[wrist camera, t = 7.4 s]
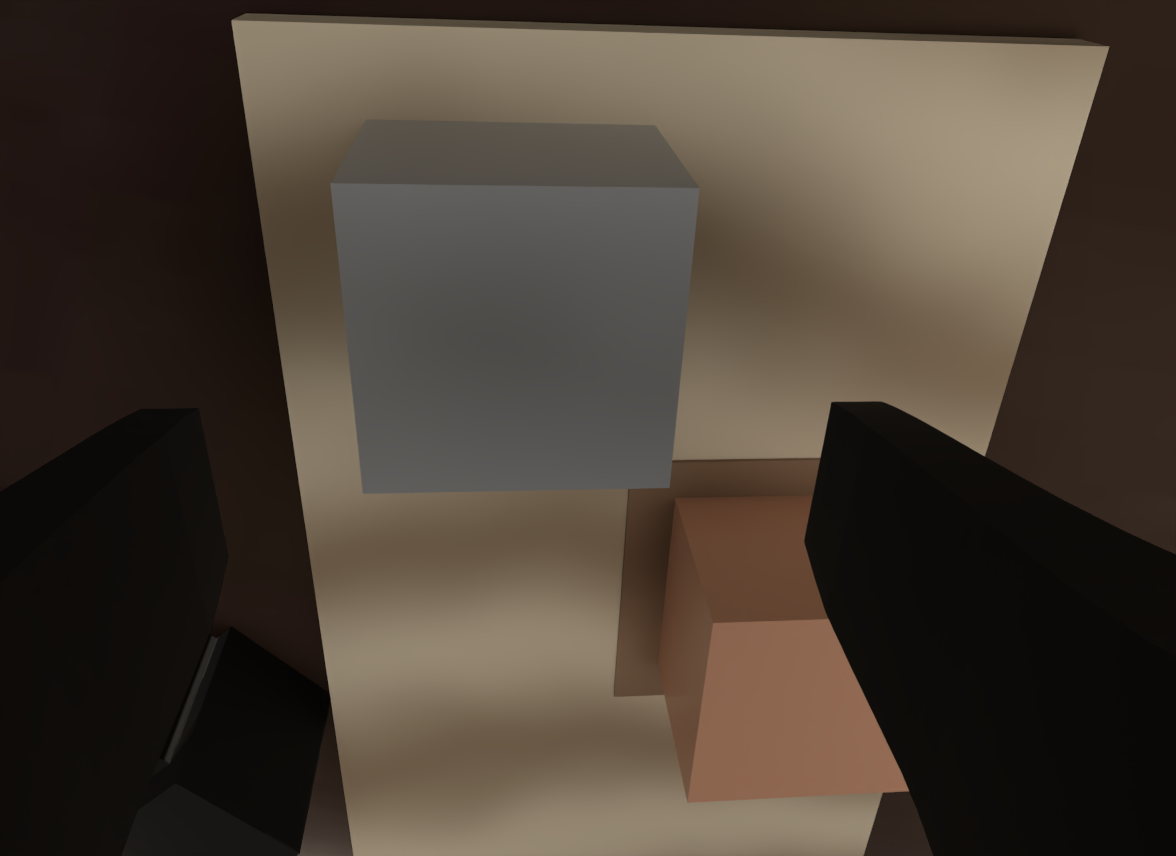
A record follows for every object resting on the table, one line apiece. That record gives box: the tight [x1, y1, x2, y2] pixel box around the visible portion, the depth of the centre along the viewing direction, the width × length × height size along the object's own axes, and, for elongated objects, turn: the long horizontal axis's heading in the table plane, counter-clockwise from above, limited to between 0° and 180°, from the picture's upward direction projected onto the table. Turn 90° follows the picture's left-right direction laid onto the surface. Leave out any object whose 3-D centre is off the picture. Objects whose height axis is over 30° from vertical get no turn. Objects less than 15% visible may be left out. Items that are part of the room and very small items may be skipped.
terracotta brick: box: [658, 495, 909, 803], centre depth 20 cm, size 5×5×4 cm
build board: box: [231, 13, 1109, 856], centre depth 21 cm, size 23×15×1 cm, turn 178°
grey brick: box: [330, 119, 700, 494], centre depth 15 cm, size 5×5×4 cm
